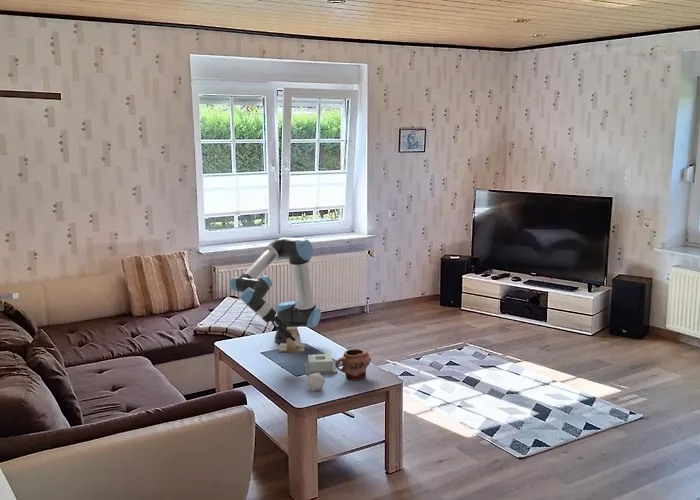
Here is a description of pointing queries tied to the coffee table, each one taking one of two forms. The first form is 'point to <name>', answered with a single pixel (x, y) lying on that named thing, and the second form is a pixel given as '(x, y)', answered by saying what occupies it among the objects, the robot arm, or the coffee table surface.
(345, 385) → the coffee table surface
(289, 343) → the wooden t-shaped block
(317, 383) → the die
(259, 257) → the robot arm
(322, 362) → the square socket base
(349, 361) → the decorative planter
